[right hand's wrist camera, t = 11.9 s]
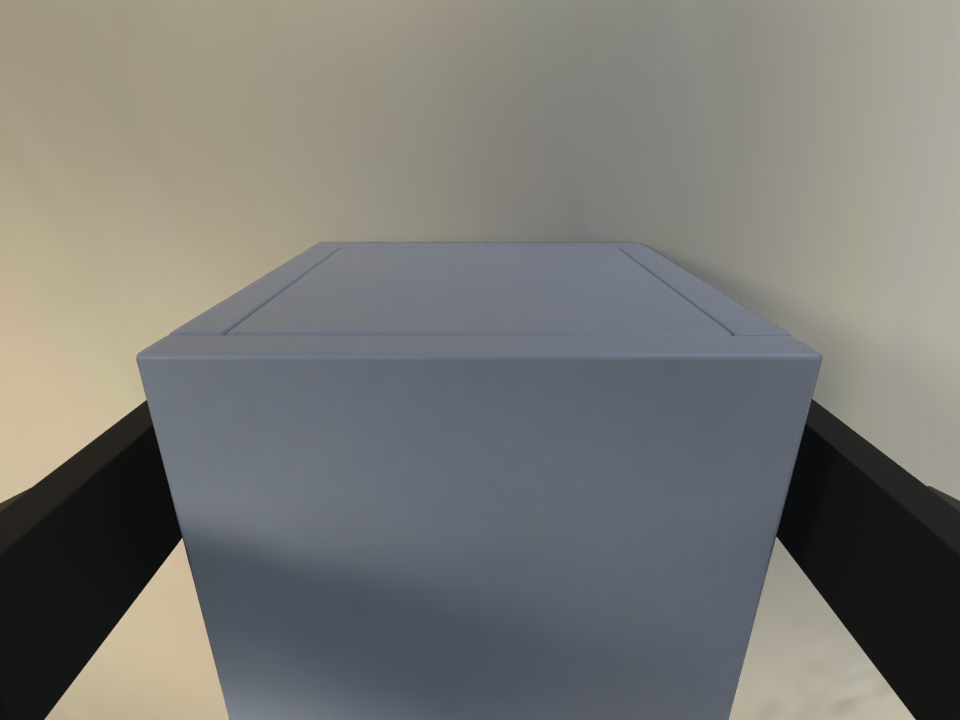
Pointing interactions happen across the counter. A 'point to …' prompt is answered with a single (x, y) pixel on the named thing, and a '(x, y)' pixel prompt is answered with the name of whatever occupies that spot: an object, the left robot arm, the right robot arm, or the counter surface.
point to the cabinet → (479, 481)
